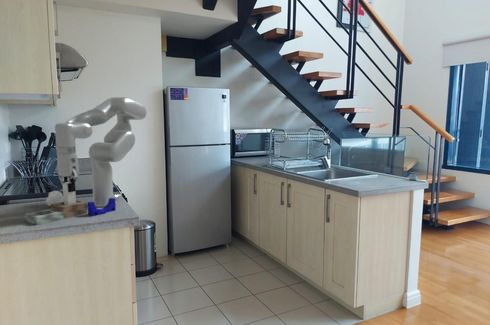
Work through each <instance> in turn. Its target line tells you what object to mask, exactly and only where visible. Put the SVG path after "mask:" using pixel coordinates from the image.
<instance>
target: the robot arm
mask: <svg viewBox="0 0 490 325" xmlns="http://www.w3.org/2000/svg"><path fill="white" fill-rule="evenodd" d="M115 116H116V118H117V119H116V120H117V121H116V124H115V125H114V126H113V127H112V128H111V129H110V130H109V131H108V132H107V133H106V134H105V136H104V138H103V141H102V142H101V141H100V142H99V141H98V142H94V143H92V144H91V145H90V147H89V149H88V156H89V160H90V164H91V180H92V181H91V182H92V201H91V202H94V205H95V207H96V208H104V207H105V206H106V205H107V204H108V201H109V198H115V205H116V204H117V202H118V201H117V199H119V198H122V194H121V193H118V194H114V188H113V187H114V183H113V180H114V179H113V168H112V165H111V163H118V162H120V161H121V160H123V159H124V158H125V157H126V155H127V154H128V153H129V152H130V151H131V150H132V149H133V147H134V145H135V143H136V136H135V134H134V133H133V131H132V125H131V123H130V121H138V120H139V121H140V120H143V119H145V118H146V116H147V109H146V107H145V106H144V104H142V103H140V102H137V101H135V100H133V99H131V98H129V97H124V96H121V97H120V96H119V97H117V96H115V97H109V98H107V99H105V100H104V101H103V102H101V103H100V104H98V105H96V106H95V107H94V108H92V109H89V110H87V111H85V112H81V113H79V114H76V115H74V116H73V117H71V118H69V119H67V121H65V122H58V123H56V124H54V132H55V133H54V134H55V146H56V147H55V148H56V156H57V160H56V163H57V164H56V166H57V167H56V168H57V173H58V176H59V178H60V182H61V185H62V186H61V187H62V189H63V184H62V183H65V182H68V192H74V191H75V192H76V190H77V189H76V183H77V179H78V178H79V175H80V166H79V160H78V156H77V152H76V139H79V140H81V139H82V140H83V139H89V138H90V137H91V136H92V134H93V127H95V126H99V125H103V124H106V123H107V122H108V121H110V120H111V119H112V118H113V117H115Z"/></svg>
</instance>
